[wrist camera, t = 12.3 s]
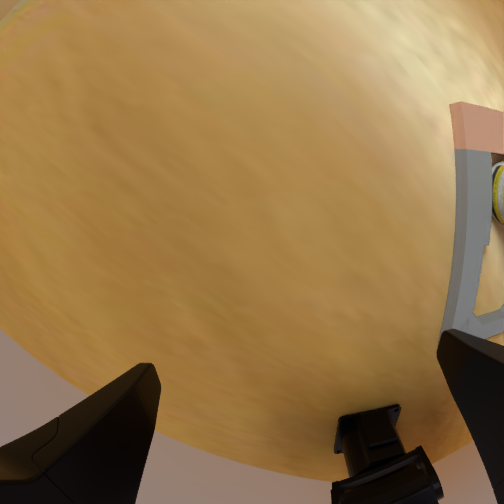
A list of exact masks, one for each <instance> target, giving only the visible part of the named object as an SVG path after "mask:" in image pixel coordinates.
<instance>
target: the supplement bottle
mask: <svg viewBox="0 0 504 504" xmlns="http://www.w3.org/2000/svg"><path fill="white" fill-rule="evenodd" d="M492 217H493V218H494V219H495V220H496V221H497V222H499V223H501V224H504V161H501V162H498V163H496V164H495V165H494V166H493V167H492Z"/></svg>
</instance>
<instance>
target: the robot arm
mask: <svg viewBox="0 0 504 504" xmlns="http://www.w3.org/2000/svg"><path fill="white" fill-rule="evenodd" d="M437 359H438V362H439V364H440V366H441V369H442V371H443V374H444V376H445V379H446V381H447V384H448V386H449V389H450V391H451V394H452V396H453V398H454V400H455V402H456V404H457V406H458V408H459V410H460V412H461V414H462V416H463V418H464V420H465V422H466V425H467V427H468V429H469V431H470V433H471V436H472V438H473V440H474V442H475V445H476V446H477V449H478V452H479V454H480V456H481V459H482V461H483V463H484V466H485V469H486V471H487V474H488V477H489V479H490V482H491V485H492V488H493V489H494V490H493V491H494V494H495V497H496V500H497V503H498V504H504V346H502V345H500V344H497V343H494V342H491V341H488V340H485V339H483V338H480V337H477V336H474V335H471V334H468V333H466V332H463V331H460V330H457V329H454V328H452V329H448V330H444V331H443V332H442V333H441V336H440V341H439V345H438V349H437ZM160 394H161V383H160V380H159V378H158V375H157V372H156V369H155V367H154V365H153V364H152V363H139V364H137V365H136V366H134V367H133V368H131V369H130V370H128V371H127V372H125V373H124V374H122V375H121V376H119V377H118V378H116V379H115V380H113V381H112V382H110V383H109V384H107V385H106V386H104V387H103V388H101V389H100V390H98V391H97V392H95V393H93V394H92V395H90V396H89V397H87V398H86V399H84V400H83V401H81V402H80V403H78V404H76V405H75V406H73V407H72V408H70V409H69V410H67V411H65V412H64V413H62V414H61V415H59V417H56V418H54V419H53V420H51V421H50V422H48V423H46V424H45V425H43V426H41V427H40V428H38V429H36V430H34V431H32V432H30V433H28V434H26V435H24V436H22V437H20V438H18V439H16V440H14V441H12V442H10V443H8V444H5V445H3V446H1V447H0V504H135V502H136V498H137V494H138V490H139V486H140V482H141V478H142V475H143V471H144V467H145V463H146V459H147V456H148V452H149V449H150V445H151V441H152V438H153V434H154V430H155V425H156V418H157V412H158V406H159V400H160ZM400 410H401V407H400V405H399V404H396V405H392V406H388V407H384V408H379V409H375V410H371V411H366V412H361V413H356V414H351V415H345V416H342V417H340V418H339V420H338V426H337V433H336V439H335V445H334V453H335V454H340V453H344V457H345V461H346V465H347V469H348V473H349V477H350V478H347V479H344V480H341V481H336V482H332V490H331V500H332V504H439V503H438V500H440V499H442V498H443V497H444V495H443V490H442V487H441V483H440V481H439V478H438V476H437V474H436V472H435V470H434V468H433V466H432V464H431V462H430V460H429V459H428V457H427V455H426V453H425V451H424V450H423V448H422V446H421V445H420V446H418V447H416V449H414V450H412V451H410V452H408V453H406V451H405V449H404V447H403V444H402V442H401V440H400V437H399V435H398V433H397V430H396V428H395V425H396V422H397V420H398V417H399V414H400Z"/></svg>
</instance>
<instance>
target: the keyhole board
mask: <svg viewBox="0 0 504 504" xmlns="http://www.w3.org/2000/svg"><path fill="white" fill-rule="evenodd" d="M450 110H451V118H452V126H453V135H454V147H455V163H456V224H455V240H454V252H453V262H452V270H451V278H450V285H449V292H448V298H447V304H446V309H445V314H444V319H443V324H442V329H441V333H442V332H443V331H444V330H448V329H452V328H454V329H457V330H460V331H463V332H466V333H468V334H471V335H474V336H477V337H480V338H483V339H486V338H488V337H491V336H494V335H497V334H499V333H502V332H504V305H503V306H502V307H501V309H500V310H497V311H494V312H491V313H488V314H485V315H481V316H478V317H476V316H475V314H474V313H473V310H474V306H475V301H476V296H477V291H478V285H479V280H480V273H481V267H482V259H483V251H484V246H486V245H489V242H490V231H491V216H492V157H491V153H493V154H500V155H504V112H501V111H498V110H494V109H490V108H486V107H482V106H478V105H474V104H469V103H465V102H457V103H453V104H450ZM441 333H440V336H441ZM439 341H440V338H439ZM438 343H439V342H438Z"/></svg>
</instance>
